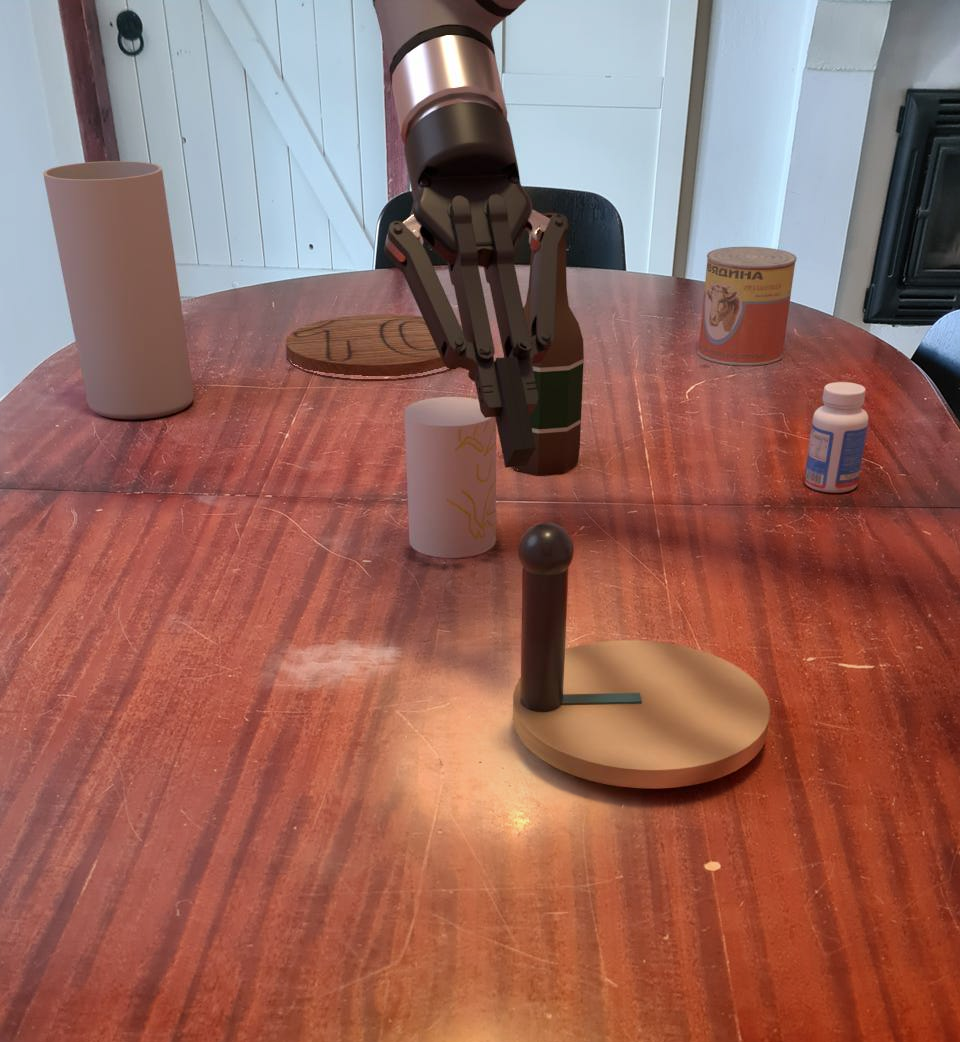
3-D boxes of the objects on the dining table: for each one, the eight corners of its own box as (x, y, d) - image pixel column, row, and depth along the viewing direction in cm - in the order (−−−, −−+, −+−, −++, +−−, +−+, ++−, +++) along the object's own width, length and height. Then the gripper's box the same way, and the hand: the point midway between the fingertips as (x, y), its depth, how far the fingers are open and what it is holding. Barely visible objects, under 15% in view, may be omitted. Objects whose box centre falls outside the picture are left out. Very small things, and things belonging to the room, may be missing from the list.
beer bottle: (582, 453, 135) (594, 208, 120) (574, 478, 129) (585, 224, 114) (512, 449, 136) (515, 206, 121) (501, 474, 130) (502, 221, 115)
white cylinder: (468, 564, 112) (467, 431, 104) (392, 547, 115) (386, 417, 108) (511, 533, 117) (512, 405, 110) (437, 517, 120) (434, 391, 113)
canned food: (680, 353, 165) (689, 255, 158) (733, 337, 171) (744, 242, 164) (747, 371, 159) (759, 270, 151) (800, 354, 165) (814, 256, 157)
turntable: (658, 636, 98) (675, 455, 89) (822, 738, 85) (860, 539, 77) (465, 698, 90) (462, 506, 81) (613, 819, 78) (629, 609, 69)
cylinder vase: (171, 383, 155) (137, 157, 140) (211, 409, 147) (179, 172, 132) (74, 400, 150) (27, 167, 135) (110, 429, 142) (65, 184, 126)
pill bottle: (856, 477, 129) (874, 381, 123) (857, 496, 124) (875, 397, 118) (803, 473, 130) (818, 377, 124) (802, 492, 125) (817, 394, 119)
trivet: (298, 387, 154) (297, 371, 153) (277, 334, 173) (275, 320, 172) (492, 372, 158) (492, 357, 157) (450, 323, 178) (450, 309, 177)
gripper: (531, 167, 91) (594, 472, 89) (357, 173, 88) (417, 490, 86) (559, 93, 83) (628, 424, 81) (370, 97, 80) (437, 441, 78)
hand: (520, 457), depth 83 cm, fingers closed
